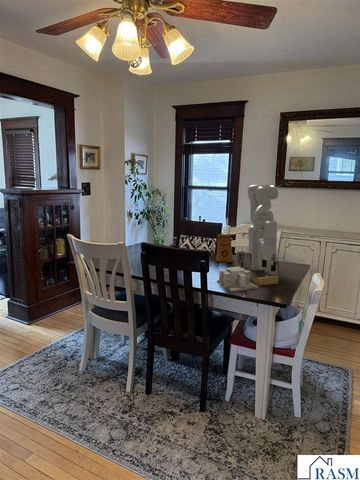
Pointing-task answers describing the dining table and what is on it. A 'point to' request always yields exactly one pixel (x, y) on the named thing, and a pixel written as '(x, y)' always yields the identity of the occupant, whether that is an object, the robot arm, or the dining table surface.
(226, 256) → the coffee package
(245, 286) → the white block cluster
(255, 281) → the tan u-shaped bracket
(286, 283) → the dining table surface
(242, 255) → the coffee box
